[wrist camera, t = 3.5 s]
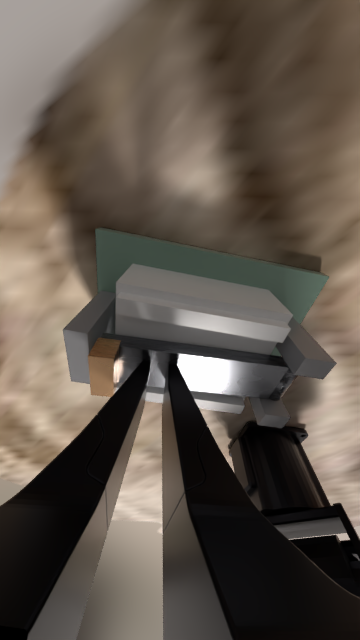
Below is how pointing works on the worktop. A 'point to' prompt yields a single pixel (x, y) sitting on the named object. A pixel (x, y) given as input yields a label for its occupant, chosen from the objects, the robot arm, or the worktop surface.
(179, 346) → the grey and brown bar
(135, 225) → the worktop surface
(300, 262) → the worktop surface
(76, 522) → the robot arm
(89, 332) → the heatsink board
